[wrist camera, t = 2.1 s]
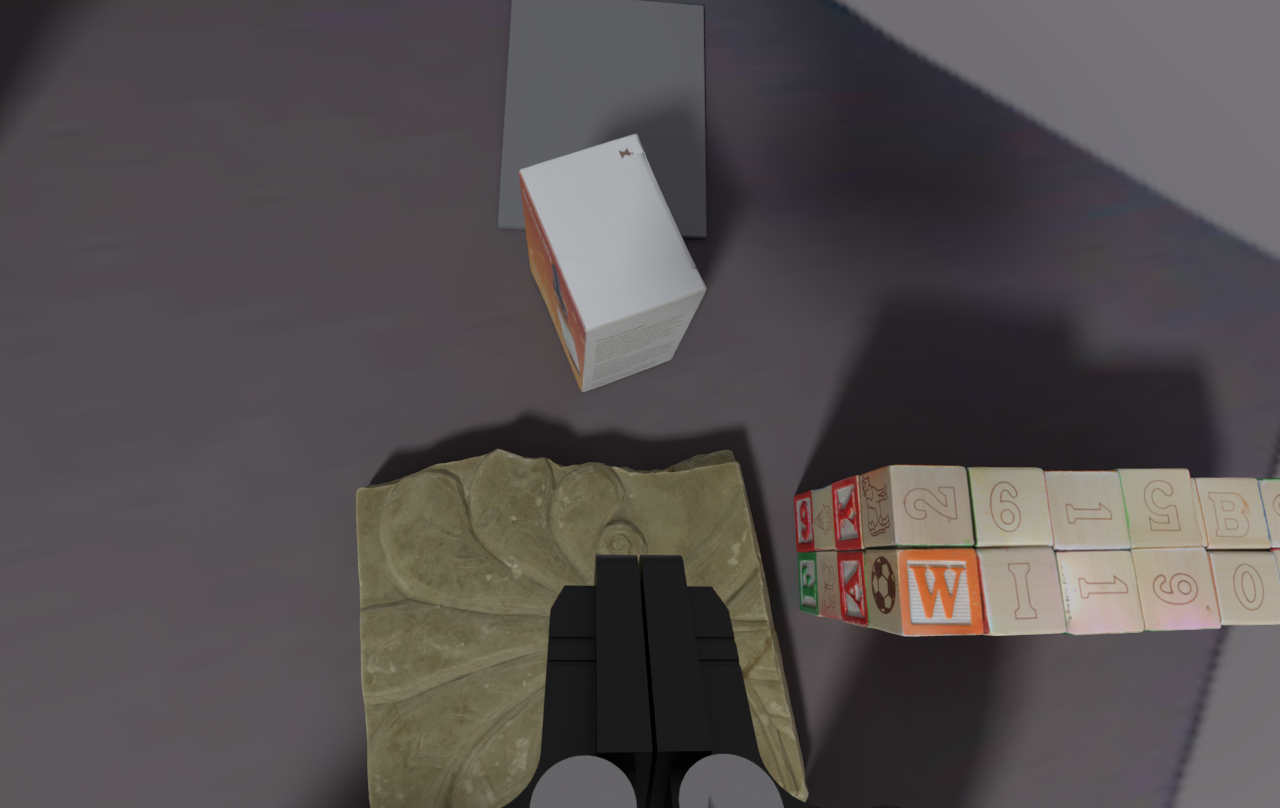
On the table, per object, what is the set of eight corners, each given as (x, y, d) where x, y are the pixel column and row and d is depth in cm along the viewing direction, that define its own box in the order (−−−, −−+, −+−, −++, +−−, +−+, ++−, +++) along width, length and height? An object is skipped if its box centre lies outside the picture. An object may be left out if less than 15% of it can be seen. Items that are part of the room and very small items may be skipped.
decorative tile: (797, 790, 35) (822, 815, 31) (385, 874, 32) (363, 910, 29) (731, 428, 39) (747, 414, 35) (360, 477, 36) (338, 467, 33)
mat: (498, 228, 40) (497, 225, 39) (512, -7, 43) (512, -10, 43) (705, 238, 41) (706, 236, 40) (702, 9, 44) (703, 5, 44)
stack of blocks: (1154, 498, 40) (1403, 468, 28) (1174, 612, 38) (1445, 632, 26) (790, 494, 38) (889, 461, 26) (796, 614, 36) (904, 637, 24)
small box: (529, 268, 39) (513, 164, 29) (620, 238, 40) (636, 126, 30) (580, 397, 38) (582, 333, 28) (674, 362, 39) (709, 288, 29)
